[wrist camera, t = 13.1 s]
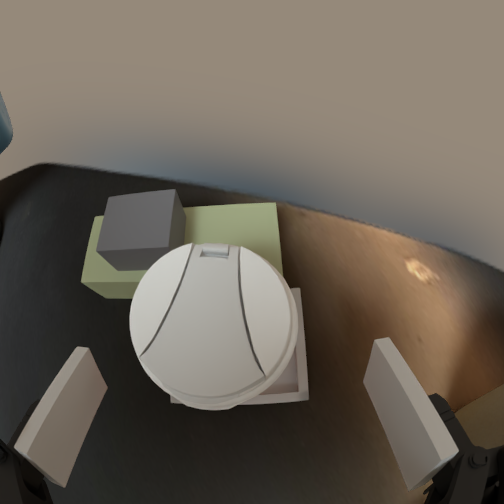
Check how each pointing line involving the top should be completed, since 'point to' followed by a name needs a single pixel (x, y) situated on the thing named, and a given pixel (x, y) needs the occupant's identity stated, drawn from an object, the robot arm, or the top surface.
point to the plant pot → (484, 419)
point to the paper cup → (213, 324)
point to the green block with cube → (176, 235)
